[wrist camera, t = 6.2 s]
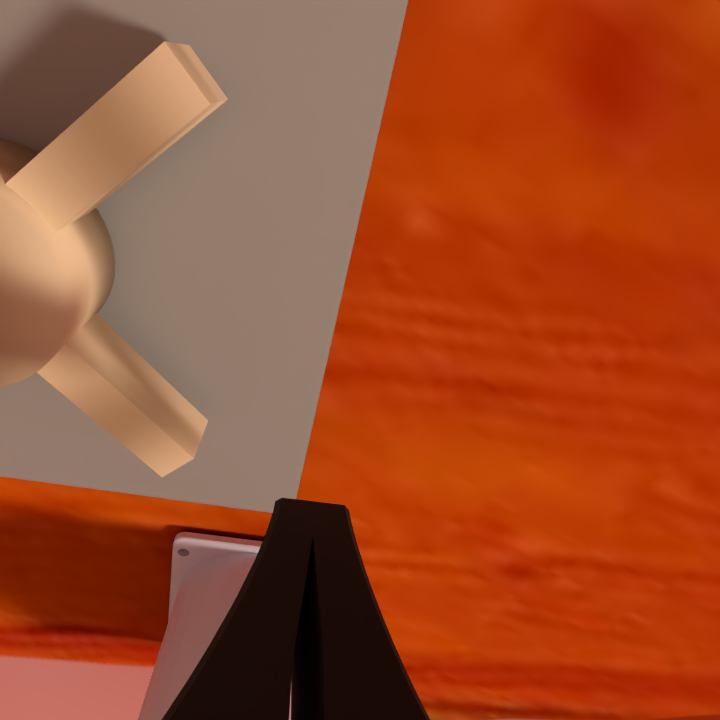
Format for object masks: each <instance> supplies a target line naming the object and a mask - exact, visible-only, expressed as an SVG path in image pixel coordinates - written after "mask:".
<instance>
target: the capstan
mask: <svg viewBox="0 0 720 720" xmlns="http://www.w3.org/2000/svg"><path fill="white" fill-rule="evenodd" d="M227 100H228V98H227V97H226V96H225V94H224V93H223V91H222V90H221V89H220V87H219V86H218V84H217V83H216V82H215V80H214V79H213V77H212V76H211V75H210V73H209V72H208V70H207V69H206V68H205V66H204V65H203V63H202V62H201V61H200V59H199V58H198V56H197V55H196V54H195V52H194V51H193V49H192V48H191V47H190V45H185V44H179V43H172V42H165V41H164V42H163V43H162V44H161V45H160V46H158V47H157V48H156V49H155V50H154V51H153V52H152V53H151V54H150V55H148V56H147V57H146V58H145V59H144V60H143V61H142V62H141V63H139V64H138V65H137V66H136V67H135V68H134V69H133V70H132V71H131V72H129V73H128V74H127V75H126V76H125V77H124V78H123V79H122V80H121V81H119V82H118V83H117V84H116V85H115V86H114V87H113V88H112V89H110V90H109V91H108V92H107V93H106V94H105V95H104V96H103V97H102V98H100V99H99V100H98V101H97V102H96V103H95V104H94V105H93V106H91V107H90V108H89V109H88V110H87V111H86V112H85V113H84V114H83V115H81V116H80V117H79V118H78V119H77V120H76V121H75V122H74V123H73V124H71V125H70V126H69V127H68V128H67V129H66V130H65V131H64V132H62V133H61V134H60V135H59V136H58V137H57V138H56V139H55V140H54V141H52V142H51V143H50V144H49V145H48V146H47V147H46V148H45V149H43V150H42V151H41V152H40V153H39V154H38V153H36V152H34V151H32V150H30V149H29V148H27V147H24V146H22V145H19V144H17V143H14V142H11V141H8V140H4V139H0V386H5V385H9V384H12V383H16V382H18V381H21V380H23V379H26V378H28V377H30V376H31V375H33V374H34V373H36V372H37V373H38V374H39V375H40V376H42V377H43V378H44V379H45V380H46V381H48V382H49V383H50V384H51V385H52V386H54V387H55V388H56V389H57V390H58V391H60V392H61V393H62V394H63V395H64V396H66V397H67V398H68V399H69V400H70V401H71V402H73V403H74V404H75V405H76V406H77V407H79V408H80V409H81V410H82V411H83V412H85V413H86V414H87V415H88V416H89V417H91V418H92V419H93V420H94V421H95V422H97V423H98V424H99V425H100V426H101V427H102V428H104V429H105V430H106V431H107V432H108V433H110V434H111V435H112V436H113V437H114V438H116V439H117V440H118V441H119V442H120V443H122V444H123V445H124V446H125V447H126V448H128V449H129V450H130V451H131V452H132V453H133V454H135V455H136V456H137V457H138V458H139V459H141V460H142V461H143V462H144V463H145V464H147V465H148V466H149V467H150V468H151V469H153V470H154V471H155V472H156V473H157V474H158V475H160V476H161V477H164V476H166V475H167V474H169V473H171V472H172V471H174V470H176V469H177V468H179V467H181V466H182V465H184V464H186V463H187V462H189V461H191V460H193V459H194V457H195V455H196V452H197V449H198V447H199V444H200V442H201V439H202V436H203V434H204V431H205V428H206V426H207V423H208V420H207V419H206V418H205V417H204V416H203V415H202V414H201V413H200V412H199V411H198V410H197V409H196V408H195V407H194V406H193V405H192V404H191V403H189V402H188V401H187V400H186V399H185V398H184V397H183V396H182V395H181V394H180V393H179V392H178V391H177V390H176V389H175V388H174V387H173V386H172V385H171V384H170V383H169V382H168V381H167V380H165V379H164V378H163V377H162V376H161V375H160V374H159V373H158V372H157V371H156V370H155V369H154V368H153V367H152V366H151V365H150V364H149V363H148V362H147V361H146V360H145V359H144V358H143V357H142V356H140V355H139V354H138V353H137V352H136V351H135V350H134V349H133V348H132V347H131V346H130V345H129V344H128V343H127V342H126V341H125V340H124V339H123V338H122V337H121V336H120V335H119V334H118V333H117V332H115V331H114V330H113V329H112V328H111V327H110V326H109V325H108V324H107V323H106V322H105V321H104V320H103V319H102V318H101V317H100V316H99V315H98V314H97V313H98V312H99V310H100V309H101V308H102V307H103V305H104V304H105V302H106V300H107V299H108V297H109V295H110V292H111V289H112V286H113V282H114V277H115V256H114V249H113V245H112V241H111V237H110V234H109V232H108V229H107V227H106V224H105V222H104V220H103V218H102V217H101V215H100V213H99V211H98V209H97V208H96V207H97V206H98V205H100V204H101V203H102V202H103V201H104V200H106V199H107V198H108V197H109V196H111V195H112V194H113V193H114V192H115V191H117V190H118V189H119V188H120V187H122V186H123V185H124V184H125V183H126V182H128V181H129V180H130V179H131V178H133V177H134V176H135V175H136V174H137V173H139V172H140V171H141V170H142V169H144V168H145V167H146V166H147V165H148V164H150V163H151V162H152V161H153V160H154V159H156V158H157V157H158V156H159V155H161V154H162V153H163V152H164V151H165V150H167V149H168V148H169V147H170V146H172V145H173V144H174V143H175V142H176V141H178V140H179V139H180V138H181V137H183V136H184V135H185V134H186V133H187V132H189V131H190V130H191V129H192V128H194V127H195V126H196V125H197V124H198V123H200V122H201V121H202V120H203V119H205V118H206V117H207V116H208V115H209V114H211V113H212V112H213V111H214V110H216V109H217V108H218V107H219V106H220V105H222V104H223V103H224V102H225V101H227Z"/></svg>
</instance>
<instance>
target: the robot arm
mask: <svg viewBox="0 0 720 720" xmlns="http://www.w3.org/2000/svg"><path fill="white" fill-rule="evenodd" d="M138 720H430V719H429V717H428V715H427V713H426V711H425V709H424V707H423V705H422V703H421V701H420V699H419V697H418V695H417V693H416V691H415V689H414V687H413V685H412V683H411V681H410V678H409V676H408V674H407V672H406V670H405V668H404V666H403V663H402V661H401V659H400V657H399V654H398V652H397V650H396V648H395V645H394V643H393V641H392V638H391V636H390V634H389V631H388V629H387V626H386V624H385V622H384V619H383V616H382V614H381V611H380V609H379V606H378V603H377V601H376V598H375V596H374V593H373V590H372V588H371V585H370V582H369V579H368V576H367V574H366V571H365V568H364V565H363V561H362V558H361V555H360V552H359V549H358V545H357V542H356V538H355V535H354V531H353V527H352V523H351V519H350V514H349V510H348V509H347V508H346V506H345V505H338V504H330V503H322V502H314V501H305V500H297V499H289V498H280V499H278V500H277V501H275V505H274V510H273V514H272V517H271V520H270V523H269V526H268V529H267V532H266V535H265V537H264V540H263V541H255V540H247V539H240V538H232V537H224V536H216V535H208V534H200V533H192V532H181V533H178V534H177V535H176V536H175V539H174V542H173V552H172V568H171V584H170V600H169V616H168V625H167V628H166V631H165V635H164V638H163V641H162V644H161V647H160V651H159V654H158V657H157V660H156V663H155V667H154V670H153V673H152V676H151V679H150V683H149V686H148V689H147V692H146V695H145V699H144V702H143V705H142V708H141V712H140V715H139V718H138Z"/></svg>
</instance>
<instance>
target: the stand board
mask: <svg viewBox="0 0 720 720" xmlns="http://www.w3.org/2000/svg"><path fill="white" fill-rule="evenodd" d="M407 4H408V0H0V139H4V140H8V141H11V142H14V143H17V144H19V145H22V146H24V147H27V148H29V149H30V150H32V151H34V152H36V153H38V154H39V153H40V152H41V151H42V150H43V149H45V148H46V147H47V146H48V145H49V144H50V143H51V142H52V141H54V140H55V139H56V138H57V137H58V136H59V135H60V134H61V133H62V132H64V131H65V130H66V129H67V128H68V127H69V126H70V125H71V124H73V123H74V122H75V121H76V120H77V119H78V118H79V117H80V116H81V115H83V114H84V113H85V112H86V111H87V110H88V109H89V108H90V107H91V106H93V105H94V104H95V103H96V102H97V101H98V100H99V99H100V98H102V97H103V96H104V95H105V94H106V93H107V92H108V91H109V90H110V89H112V88H113V87H114V86H115V85H116V84H117V83H118V82H119V81H121V80H122V79H123V78H124V77H125V76H126V75H127V74H128V73H129V72H131V71H132V70H133V69H134V68H135V67H136V66H137V65H138V64H139V63H141V62H142V61H143V60H144V59H145V58H146V57H147V56H148V55H150V54H151V53H152V52H153V51H154V50H155V49H156V48H157V47H158V46H160V45H161V44H162V43H163V42H164V41H165V42H172V43H179V44H185V45H190V47H191V48H192V49H193V51H194V52H195V54H196V55H197V56H198V58H199V59H200V61H201V62H202V63H203V65H204V66H205V68H206V69H207V70H208V72H209V73H210V75H211V76H212V77H213V79H214V80H215V82H216V83H217V84H218V86H219V87H220V89H221V90H222V91H223V93H224V94H225V96H226V97H227V98H228V100H227V101H225V102H224V103H223V104H222V105H220V106H219V107H218V108H217V109H216V110H214V111H213V112H212V113H211V114H209V115H208V116H207V117H206V118H205V119H203V120H202V121H201V122H200V123H198V124H197V125H196V126H195V127H194V128H192V129H191V130H190V131H189V132H187V133H186V134H185V135H184V136H183V137H181V138H180V139H179V140H178V141H176V142H175V143H174V144H173V145H172V146H170V147H169V148H168V149H167V150H165V151H164V152H163V153H162V154H161V155H159V156H158V157H157V158H156V159H154V160H153V161H152V162H151V163H150V164H148V165H147V166H146V167H145V168H144V169H142V170H141V171H140V172H139V173H137V174H136V175H135V176H134V177H133V178H131V179H130V180H129V181H128V182H126V183H125V184H124V185H123V186H122V187H120V188H119V189H118V190H117V191H115V192H114V193H113V194H112V195H111V196H109V197H108V198H107V199H106V200H104V201H103V202H102V203H101V204H100V205H98V206H97V207H96V208H97V209H98V211H99V213H100V215H101V217H102V218H103V220H104V222H105V224H106V227H107V229H108V232H109V234H110V237H111V241H112V245H113V249H114V256H115V277H114V282H113V286H112V289H111V292H110V295H109V297H108V299H107V300H106V302H105V304H104V305H103V307H102V308H101V309H100V310H99V312H98V313H97V314H98V315H99V316H100V317H101V318H102V319H103V320H104V321H105V322H106V323H107V324H108V325H109V326H110V327H111V328H112V329H113V330H114V331H115V332H117V333H118V334H119V335H120V336H121V337H122V338H123V339H124V340H125V341H126V342H127V343H128V344H129V345H130V346H131V347H132V348H133V349H134V350H135V351H136V352H137V353H138V354H139V355H140V356H142V357H143V358H144V359H145V360H146V361H147V362H148V363H149V364H150V365H151V366H152V367H153V368H154V369H155V370H156V371H157V372H158V373H159V374H160V375H161V376H162V377H163V378H164V379H165V380H167V381H168V382H169V383H170V384H171V385H172V386H173V387H174V388H175V389H176V390H177V391H178V392H179V393H180V394H181V395H182V396H183V397H184V398H185V399H186V400H187V401H188V402H189V403H191V404H192V405H193V406H194V407H195V408H196V409H197V410H198V411H199V412H200V413H201V414H202V415H203V416H204V417H205V418H206V419H207V420H208V423H207V426H206V428H205V431H204V434H203V436H202V439H201V442H200V444H199V447H198V449H197V452H196V455H195V457H194V459H193V460H191V461H189V462H187V463H186V464H184V465H182V466H181V467H179V468H177V469H176V470H174V471H172V472H171V473H169V474H167V475H166V476H164V477H161V476H160V475H158V474H157V473H156V472H155V471H154V470H153V469H151V468H150V467H149V466H148V465H147V464H145V463H144V462H143V461H142V460H141V459H139V458H138V457H137V456H136V455H135V454H133V453H132V452H131V451H130V450H129V449H128V448H126V447H125V446H124V445H123V444H122V443H120V442H119V441H118V440H117V439H116V438H114V437H113V436H112V435H111V434H110V433H108V432H107V431H106V430H105V429H104V428H102V427H101V426H100V425H99V424H98V423H97V422H95V421H94V420H93V419H92V418H91V417H89V416H88V415H87V414H86V413H85V412H83V411H82V410H81V409H80V408H79V407H77V406H76V405H75V404H74V403H73V402H71V401H70V400H69V399H68V398H67V397H66V396H64V395H63V394H62V393H61V392H60V391H58V390H57V389H56V388H55V387H54V386H52V385H51V384H50V383H49V382H48V381H46V380H45V379H44V378H43V377H42V376H40V375H39V374H38V373H37V372H36V373H34V374H33V375H31V376H30V377H28V378H26V379H23V380H21V381H18V382H16V383H12V384H9V385H5V386H0V476H2V477H9V478H17V479H24V480H32V481H39V482H47V483H54V484H61V485H69V486H76V487H84V488H91V489H99V490H106V491H113V492H121V493H128V494H136V495H143V496H151V497H158V498H165V499H173V500H180V501H188V502H195V503H203V504H210V505H217V506H225V507H232V508H240V509H247V510H255V511H262V512H270V513H273V510H274V505H275V501H277V500H278V499H280V498H289V499H296V497H297V492H298V488H299V483H300V479H301V474H302V470H303V466H304V461H305V457H306V452H307V448H308V443H309V439H310V434H311V430H312V426H313V421H314V417H315V412H316V408H317V403H318V399H319V395H320V390H321V386H322V381H323V377H324V372H325V368H326V363H327V359H328V355H329V350H330V346H331V341H332V337H333V332H334V328H335V323H336V319H337V315H338V310H339V306H340V301H341V297H342V292H343V288H344V284H345V279H346V275H347V270H348V266H349V261H350V257H351V252H352V248H353V244H354V239H355V235H356V230H357V226H358V221H359V217H360V212H361V208H362V204H363V199H364V195H365V190H366V186H367V181H368V177H369V172H370V168H371V164H372V159H373V155H374V150H375V146H376V141H377V137H378V133H379V128H380V124H381V119H382V115H383V110H384V106H385V101H386V97H387V93H388V88H389V84H390V79H391V75H392V70H393V66H394V61H395V57H396V53H397V48H398V44H399V39H400V35H401V30H402V26H403V22H404V17H405V13H406V8H407Z"/></svg>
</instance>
